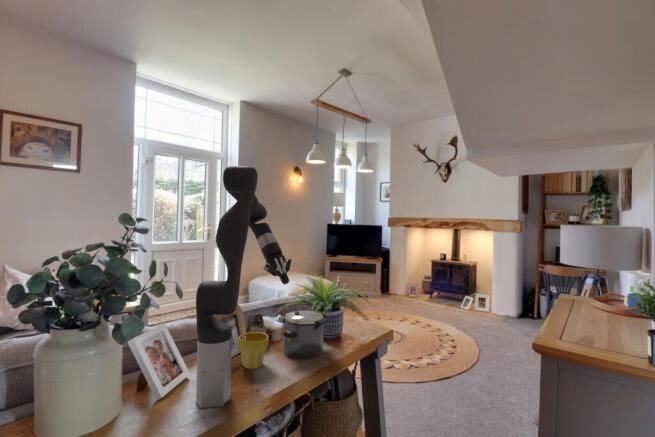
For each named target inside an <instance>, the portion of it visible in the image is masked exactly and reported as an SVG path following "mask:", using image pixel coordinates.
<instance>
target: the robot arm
mask: <svg viewBox="0 0 655 437" xmlns="http://www.w3.org/2000/svg"><path fill="white" fill-rule="evenodd" d="M258 178H259V176H258V170H257V169H256V168H255V167H254V166H249V165H248V166H244V165H229V166H227V167H225V168H224V170H223V174H222V182H223V187H224V188H225V190H226V191H227V193H228V194H229V195H231V196H232V197H233V198H234V199H235V201H236V202H235V203H234V204H233V205H232V206H231V207H230V208H229V209H228V210H227V211H226V212H225V213H224V214H223V215H222V216H221V217H220V219H219V221H218V224H217V225H218V226H217V230H216V234H215V244H216V247H217V249H218V251H219V253H220V256H221V257H222V259H223V261H224V264H225V265H226V269H227V270H226V271H227V279H226V280H203V281H202V282H200V283H199V284H198V286H197V289H196V295H195V313H196V333H197V337H196V339H197V344H196V346H197V348H196V349H197V350H196V382H195V383H196V384H195V385H196V386H195V387H196V388H195V389H196V391H195V396H196V397H195V401H196V404H197V405H198V406H199V409H207V408H218V407H224V406H225V404H226V403H227V402H229V401H230V399H231V392H232V391H231V389H232V387H231V385H232V382H231V381H232V347H233V346H232V344H233V343H232V342H233V341H232V340H233V337H232V336H233V328H232V326H231V325H230V324H228V323H226V322H223V321H221V320H219V319H218V318H217V317H216V316H217V315H218V316H219V315H220V316H221V315H228V316H229V315H233V314H234V313H235V311H236V309H237V306H238V303H239V302H238V301H239V295H240V287H241V276H242V275H241V274H242V265H243V260H244V259H243V258H244V255H245V247H246V244H247V240H248V239H247V238H248V233H249V228H250V229H251V231H252V232H253V234H254V237H255V239H256V242H257V245H258V248H259V250H260V252H261V254H262V255H263V259H264V260H265V265H264V266H263V270H264V271H266V272H267V273H269V274H271V275H272V276H273V277H278V278H279V279H280V281H281V283H282V284H283V285H288V284H289V283H290V277H289V276H288V274H287V273H289V271H290V268H291V264H292V259H291V258H288V259H287V258H286V257H285V255H284V254H283V250H282V248H281V246H280V245H279V242H278V241H277V238H276V237H275V235H274V233H273V231H272V230H271V226H270V225H269V224H268V222H260V221H263V220H264V219H266V218H267V216H268V212H267V209H266V207H265V206H264V205H263V204H262V203H261V202H259V199H258V197H257V196H256V190H257V186H258ZM258 222H259V223H258ZM215 315H216V316H215Z"/></svg>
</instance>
